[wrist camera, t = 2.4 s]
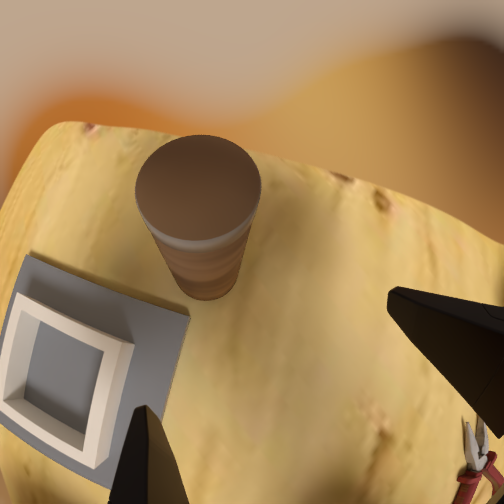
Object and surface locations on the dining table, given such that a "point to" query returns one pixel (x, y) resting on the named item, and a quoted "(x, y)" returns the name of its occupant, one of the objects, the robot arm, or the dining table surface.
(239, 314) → the dining table surface
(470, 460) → the pliers
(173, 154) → the brown upright cylinder
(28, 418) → the docking plate
